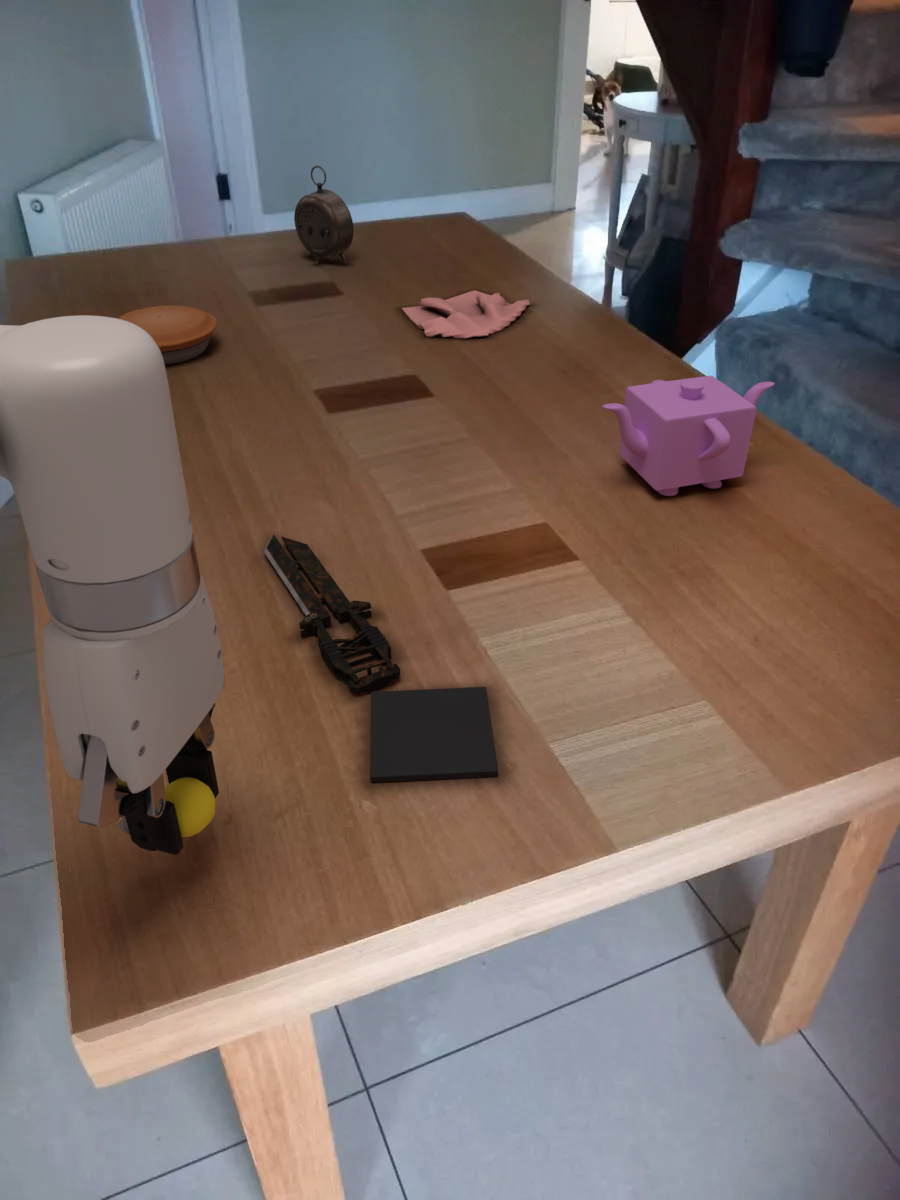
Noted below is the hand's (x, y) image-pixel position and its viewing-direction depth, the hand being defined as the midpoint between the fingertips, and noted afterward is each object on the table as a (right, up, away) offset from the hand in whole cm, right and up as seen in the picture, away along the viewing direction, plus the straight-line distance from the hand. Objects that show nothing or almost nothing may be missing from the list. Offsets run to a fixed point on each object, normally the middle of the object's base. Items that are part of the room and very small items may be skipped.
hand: (176, 817), depth 57 cm
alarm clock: (-6, +75, +111) cm, 134 cm away
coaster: (+16, +3, +12) cm, 20 cm away
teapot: (+42, +27, +44) cm, 67 cm away
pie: (-24, +49, +75) cm, 93 cm away
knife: (+5, +13, +25) cm, 28 cm away
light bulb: (0, -1, 0) cm, 1 cm away
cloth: (+20, +58, +88) cm, 107 cm away
